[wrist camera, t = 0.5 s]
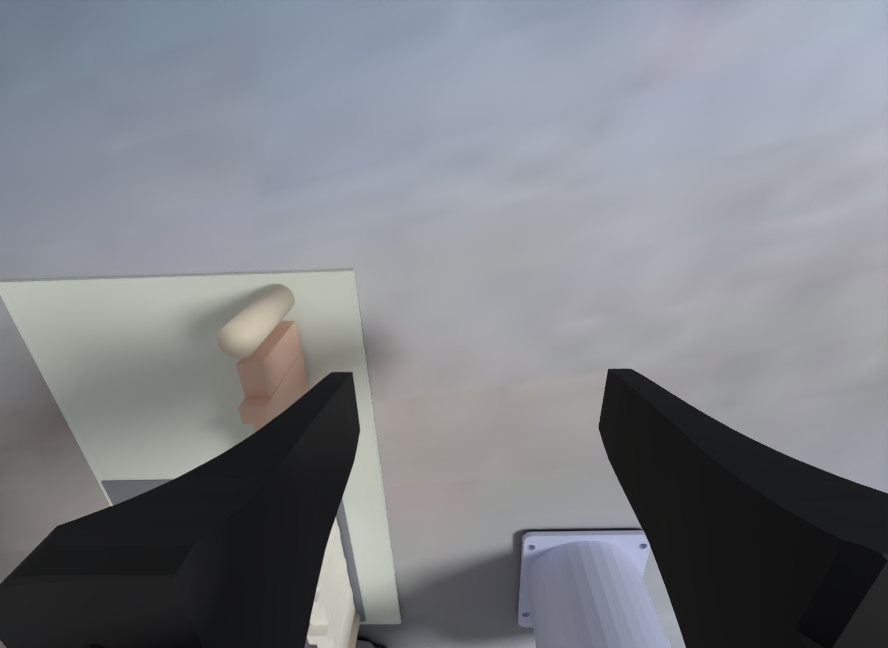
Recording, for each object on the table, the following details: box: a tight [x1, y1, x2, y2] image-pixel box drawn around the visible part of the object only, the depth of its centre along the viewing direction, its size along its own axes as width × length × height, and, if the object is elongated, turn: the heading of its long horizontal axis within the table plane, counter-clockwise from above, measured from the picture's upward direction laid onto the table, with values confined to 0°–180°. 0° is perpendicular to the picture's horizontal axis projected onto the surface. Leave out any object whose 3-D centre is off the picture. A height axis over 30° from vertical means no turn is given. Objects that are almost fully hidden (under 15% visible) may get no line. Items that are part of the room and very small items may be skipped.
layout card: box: [0, 269, 401, 625], centre depth 25 cm, size 27×17×1 cm, turn 2°
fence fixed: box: [307, 518, 361, 648], centre depth 26 cm, size 14×1×5 cm, turn 2°
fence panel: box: [217, 284, 309, 432], centre depth 20 cm, size 12×1×5 cm, turn 2°
